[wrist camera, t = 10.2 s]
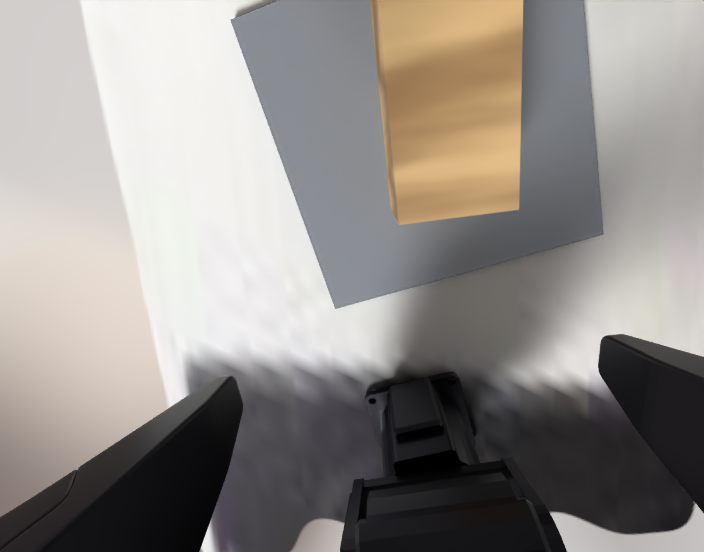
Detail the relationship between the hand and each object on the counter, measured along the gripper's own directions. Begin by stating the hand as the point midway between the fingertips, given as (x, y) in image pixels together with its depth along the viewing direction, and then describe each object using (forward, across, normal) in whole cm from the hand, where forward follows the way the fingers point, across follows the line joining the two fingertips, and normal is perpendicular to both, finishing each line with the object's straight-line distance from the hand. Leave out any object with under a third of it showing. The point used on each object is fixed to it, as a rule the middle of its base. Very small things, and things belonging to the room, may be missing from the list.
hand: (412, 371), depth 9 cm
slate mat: (+13, -3, -6) cm, 14 cm away
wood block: (+10, -3, -2) cm, 11 cm away
